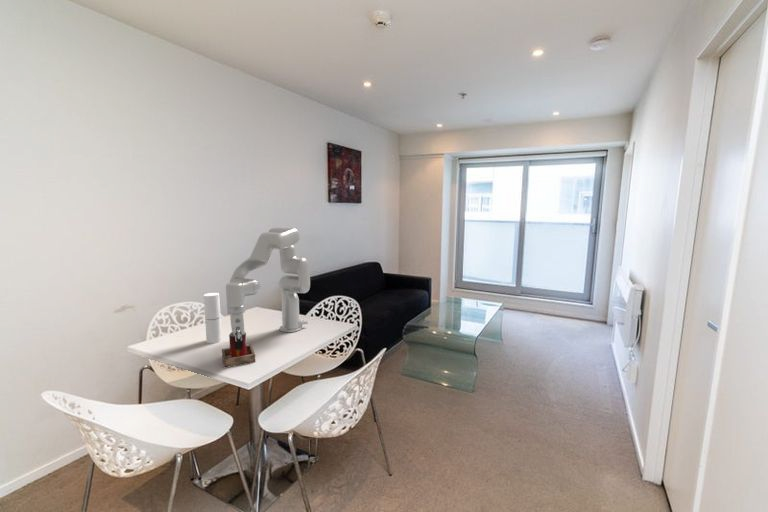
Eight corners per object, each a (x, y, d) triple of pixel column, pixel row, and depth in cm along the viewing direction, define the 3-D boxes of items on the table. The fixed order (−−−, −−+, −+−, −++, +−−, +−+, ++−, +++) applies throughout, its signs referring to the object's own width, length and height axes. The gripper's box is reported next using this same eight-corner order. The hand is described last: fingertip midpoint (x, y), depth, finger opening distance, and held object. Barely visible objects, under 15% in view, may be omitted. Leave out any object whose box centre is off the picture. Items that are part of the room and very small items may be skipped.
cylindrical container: (215, 343, 174) (212, 296, 171) (203, 342, 176) (200, 295, 172) (224, 338, 181) (222, 293, 178) (212, 337, 183) (210, 292, 179)
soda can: (244, 352, 163) (243, 328, 161) (248, 358, 157) (247, 332, 155) (229, 356, 159) (227, 331, 157) (232, 362, 153) (230, 336, 151)
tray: (251, 351, 166) (251, 344, 166) (255, 361, 155) (255, 354, 154) (222, 356, 160) (221, 349, 160) (223, 367, 149) (223, 360, 148)
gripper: (247, 313, 148) (249, 350, 151) (242, 303, 163) (244, 337, 166) (228, 315, 145) (230, 353, 147) (225, 305, 160) (227, 340, 162)
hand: (237, 345), depth 157 cm, fingers open, 9 cm apart
